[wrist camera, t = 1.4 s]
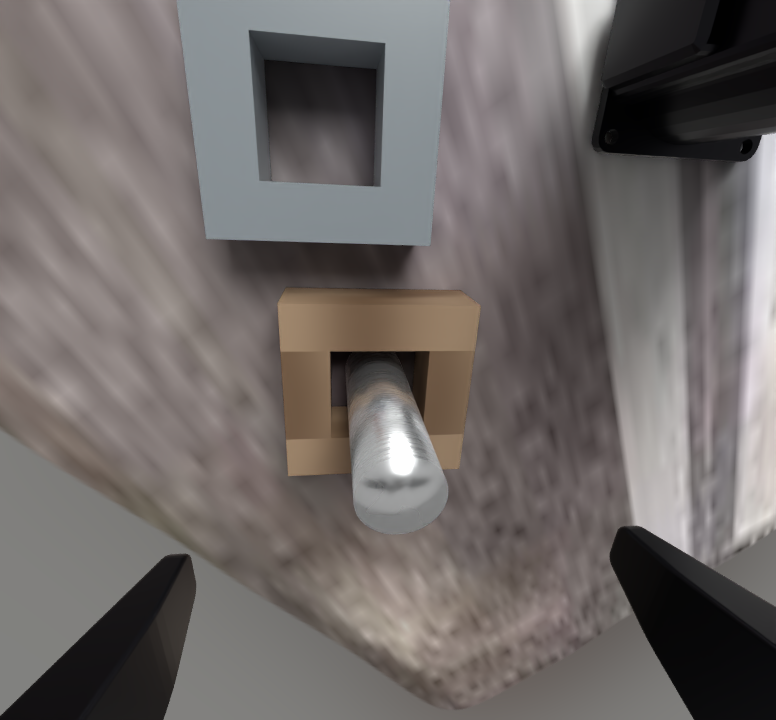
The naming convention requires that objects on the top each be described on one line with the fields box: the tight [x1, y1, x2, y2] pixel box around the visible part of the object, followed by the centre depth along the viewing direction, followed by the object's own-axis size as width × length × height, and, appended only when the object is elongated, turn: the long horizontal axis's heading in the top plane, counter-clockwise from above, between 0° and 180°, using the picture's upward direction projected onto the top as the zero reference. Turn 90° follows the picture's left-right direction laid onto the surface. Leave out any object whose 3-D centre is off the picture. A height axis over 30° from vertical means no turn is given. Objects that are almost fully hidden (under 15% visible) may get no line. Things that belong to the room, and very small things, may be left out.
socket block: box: [278, 287, 481, 476], centre depth 16 cm, size 7×7×2 cm
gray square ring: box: [177, 0, 450, 246], centre depth 12 cm, size 7×7×2 cm
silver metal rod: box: [345, 351, 448, 534], centre depth 14 cm, size 2×2×8 cm
